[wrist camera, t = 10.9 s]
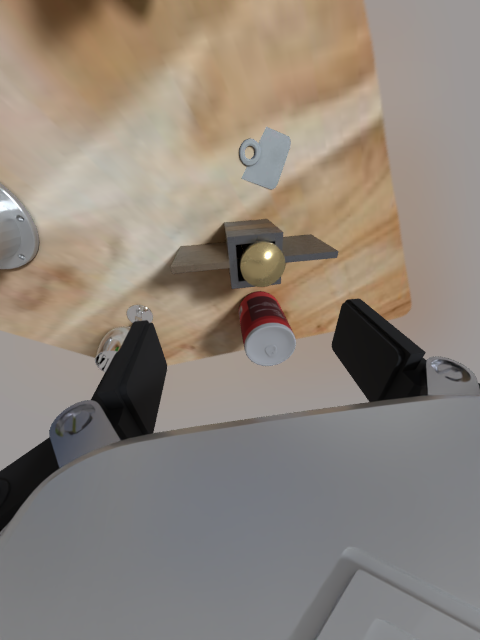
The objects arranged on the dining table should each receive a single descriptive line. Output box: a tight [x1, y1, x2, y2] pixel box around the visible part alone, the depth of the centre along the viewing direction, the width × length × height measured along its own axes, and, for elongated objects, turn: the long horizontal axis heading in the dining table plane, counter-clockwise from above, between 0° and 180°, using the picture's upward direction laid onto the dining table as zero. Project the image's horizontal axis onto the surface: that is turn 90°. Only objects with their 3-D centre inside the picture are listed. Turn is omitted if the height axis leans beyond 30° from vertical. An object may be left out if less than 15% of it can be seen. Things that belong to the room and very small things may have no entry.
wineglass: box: [95, 305, 153, 372], centre depth 34 cm, size 6×6×12 cm
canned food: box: [239, 291, 296, 366], centre depth 36 cm, size 8×8×11 cm
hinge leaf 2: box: [224, 219, 338, 289], centre depth 30 cm, size 13×6×9 cm, turn 94°
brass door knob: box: [240, 241, 285, 287], centre depth 29 cm, size 5×5×10 cm
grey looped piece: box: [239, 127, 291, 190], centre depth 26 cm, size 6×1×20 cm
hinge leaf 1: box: [170, 223, 276, 274], centre depth 29 cm, size 13×6×9 cm, turn 94°
